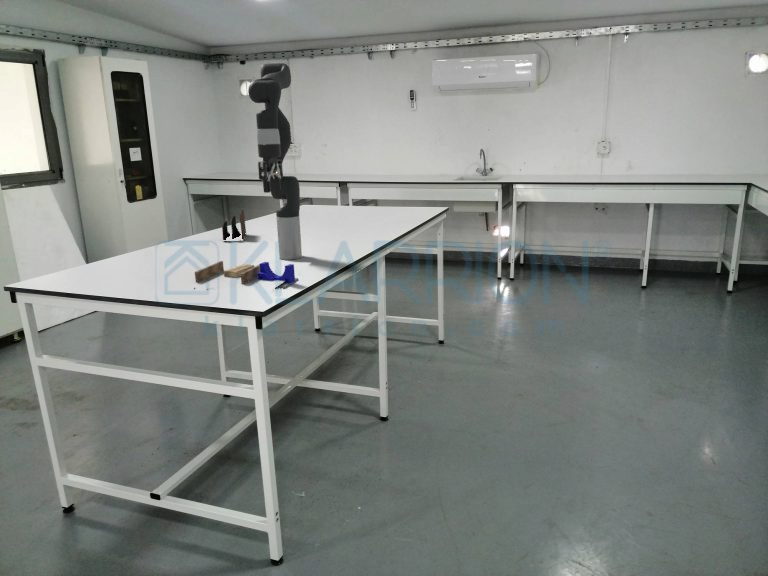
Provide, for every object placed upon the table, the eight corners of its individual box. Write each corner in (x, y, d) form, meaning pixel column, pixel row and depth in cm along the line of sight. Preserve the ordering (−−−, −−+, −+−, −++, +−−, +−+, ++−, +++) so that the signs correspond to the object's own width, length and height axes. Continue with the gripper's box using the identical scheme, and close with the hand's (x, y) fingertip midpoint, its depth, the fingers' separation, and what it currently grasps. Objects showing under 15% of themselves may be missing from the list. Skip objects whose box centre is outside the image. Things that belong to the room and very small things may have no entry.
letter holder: (246, 235, 290) (244, 208, 286) (243, 241, 271) (241, 212, 267) (226, 236, 288) (224, 208, 285) (222, 242, 270) (220, 213, 266)
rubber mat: (269, 278, 196) (268, 277, 195) (298, 279, 193) (298, 278, 193) (253, 287, 184) (253, 285, 184) (284, 288, 182) (284, 286, 182)
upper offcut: (224, 276, 195) (223, 270, 194) (243, 269, 204) (242, 264, 204) (235, 277, 193) (235, 271, 192) (254, 270, 202) (254, 265, 202)
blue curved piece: (258, 281, 189) (256, 264, 188) (266, 278, 193) (265, 261, 192) (287, 284, 184) (285, 267, 183) (295, 281, 188) (293, 264, 187)
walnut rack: (221, 274, 204) (220, 261, 202) (266, 276, 199) (265, 262, 198) (196, 286, 188) (194, 271, 186) (244, 288, 184) (243, 273, 182)
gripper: (267, 143, 195) (271, 189, 200) (249, 143, 182) (253, 193, 186) (287, 142, 194) (290, 189, 198) (270, 143, 180) (273, 193, 185)
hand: (272, 191), depth 192 cm, fingers open, 8 cm apart
